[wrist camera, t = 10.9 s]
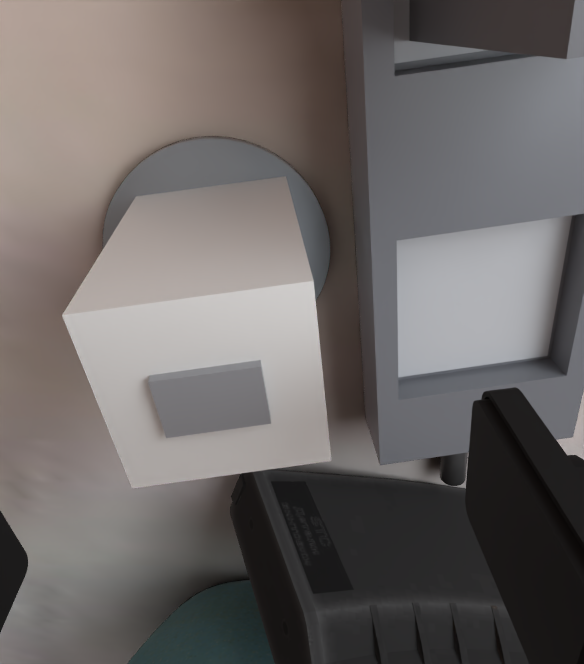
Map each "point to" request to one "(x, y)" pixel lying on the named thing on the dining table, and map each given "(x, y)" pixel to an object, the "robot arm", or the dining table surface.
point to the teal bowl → (211, 630)
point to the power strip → (462, 232)
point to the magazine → (368, 571)
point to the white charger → (205, 335)
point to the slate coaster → (219, 169)
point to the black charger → (501, 25)
